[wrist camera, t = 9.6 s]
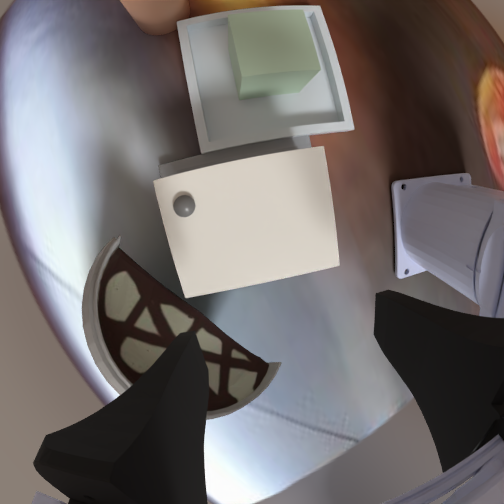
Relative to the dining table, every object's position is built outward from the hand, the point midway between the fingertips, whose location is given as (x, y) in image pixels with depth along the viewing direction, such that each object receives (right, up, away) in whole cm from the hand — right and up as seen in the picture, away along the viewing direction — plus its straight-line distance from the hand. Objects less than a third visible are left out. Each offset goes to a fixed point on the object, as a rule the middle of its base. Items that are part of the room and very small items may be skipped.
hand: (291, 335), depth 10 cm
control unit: (-2, +6, +8) cm, 11 cm away
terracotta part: (-8, +21, +3) cm, 22 cm away
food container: (-11, -5, +9) cm, 15 cm away
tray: (-1, +15, +6) cm, 16 cm away
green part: (-1, +15, +5) cm, 16 cm away
